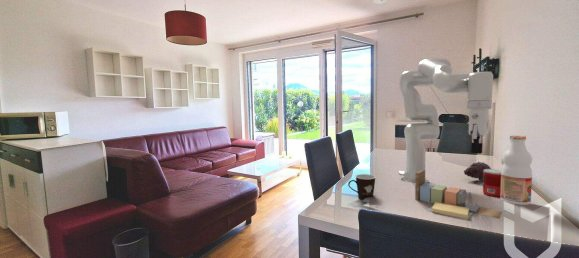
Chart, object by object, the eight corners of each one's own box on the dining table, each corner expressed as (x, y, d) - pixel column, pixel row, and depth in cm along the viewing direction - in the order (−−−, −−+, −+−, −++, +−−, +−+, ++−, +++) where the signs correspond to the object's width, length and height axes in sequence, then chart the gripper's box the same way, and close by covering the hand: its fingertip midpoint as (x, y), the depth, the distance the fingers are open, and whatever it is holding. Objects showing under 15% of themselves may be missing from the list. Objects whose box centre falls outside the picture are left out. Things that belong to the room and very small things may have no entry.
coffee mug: (375, 195, 121) (375, 174, 120) (375, 202, 112) (375, 179, 112) (350, 193, 124) (350, 173, 124) (348, 199, 116) (347, 178, 115)
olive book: (430, 202, 106) (430, 188, 106) (435, 198, 111) (436, 184, 110) (441, 204, 104) (441, 190, 103) (446, 200, 108) (446, 186, 107)
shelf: (415, 202, 110) (415, 173, 109) (422, 198, 116) (422, 169, 115) (499, 222, 90) (500, 186, 89) (502, 215, 96) (503, 181, 95)
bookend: (457, 208, 99) (457, 193, 99) (461, 203, 104) (462, 189, 103) (476, 213, 95) (476, 197, 94) (480, 207, 100) (480, 192, 99)
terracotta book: (460, 203, 104) (461, 189, 104) (456, 208, 100) (456, 193, 99) (449, 201, 107) (449, 187, 107) (444, 205, 103) (444, 190, 102)
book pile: (426, 214, 98) (426, 206, 98) (434, 207, 105) (434, 200, 104) (466, 224, 89) (467, 216, 89) (472, 216, 95) (473, 208, 95)
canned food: (509, 198, 113) (510, 173, 112) (488, 197, 114) (489, 172, 113) (498, 192, 120) (499, 169, 119) (479, 191, 122) (480, 168, 121)
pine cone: (469, 183, 134) (469, 164, 133) (457, 178, 144) (457, 160, 143) (503, 182, 134) (504, 163, 133) (489, 177, 144) (489, 159, 143)
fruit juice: (495, 199, 112) (498, 134, 109) (522, 200, 109) (525, 134, 107) (506, 207, 103) (509, 137, 101) (536, 209, 100) (539, 137, 98)
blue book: (419, 199, 110) (419, 186, 109) (425, 196, 114) (425, 182, 114) (429, 202, 107) (430, 188, 106) (435, 198, 111) (435, 184, 111)
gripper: (487, 105, 90) (484, 157, 92) (495, 104, 100) (492, 151, 102) (462, 106, 95) (460, 154, 97) (471, 104, 106) (469, 149, 108)
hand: (476, 152), depth 100 cm, fingers closed
